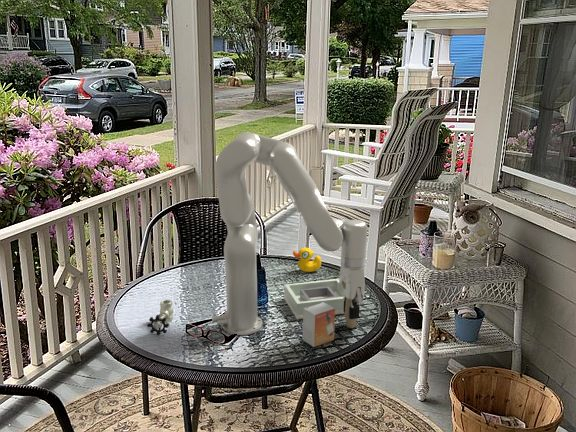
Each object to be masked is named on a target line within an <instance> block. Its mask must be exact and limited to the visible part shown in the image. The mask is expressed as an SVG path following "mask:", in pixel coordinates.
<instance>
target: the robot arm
mask: <svg viewBox="0 0 576 432" xmlns="http://www.w3.org/2000/svg"><path fill="white" fill-rule="evenodd" d="M253 163H257V164H260V165H264V166H267V167H270V170H271V171H272V173H273V174H274V175H275V177H276V179H277V180H278V182H279V183H280V185H281V186H282V188H283V189H284V191H285V193H286V194H287V195H288V197H289V199H290V201H291V202H292V204H293V205H294V207H295V209H296V211H297V213H298V214H299V215H300V218H301V219H302V220H303V222H304V224H305V226H306V227H307V229H308V231H309V232H310V234H311V235H312V236H313V238H314V240H315V242H316V243H317V245H318V246H319V247H320V248H321V249H323V250H324V251H326V252H332V253H333V252H336V251H338V250H339V249H341V252H340V267H339V268H340V269H339V278H338V279H339V289H340V291H341V292H342V293H343V294H344V300H345V301H344V310H343V311H344V314H345V305H346V297H347V298H348V299H349V300H350V304H351V307H349V319H357V320H358V319H360V309H361V305H363V304H364V303H363V299H364V297H365V289H366V285H365V283H366V282H365V267H366V266H367V265H366V261H367V247H368V246H367V245H368V244H367V243H368V242H367V241H368V224H367V223H366V222H365V221H363V220H360V219H347V220H346V219H345V220H344V219H339V218H333V217H332V216H331V214H330V212H329V211H328V208H327V207H326V205H325V202H324V201H323V198H322V195H321V192H320V190H319V187H318V186H317V184H316V183H315V181H314V180H313V178H312V176H311V175H310V174H309V171H307V169H306V167H305V166H304V164H303V162H302V160H301V159H300V157H299V156H298V152H297V150H296V148H295V147H294V146H293V145H292V143H289V142H286V141H283V140H280V139H279V140H278V139H276V138H272V137H268V136H265V135H261V134H258V133H254V132H251V131H250V132H247V131H246V132H245V131H244V132H241V133H239V134H238V135H236V136H235V137H234V139H232V141H231V142H230V143H228V144H227V145H226V146H224V148H222V150H220V152H219V154H218V156H217V158H216V161H215V165H214V166H215V167H214V168H215V169H214V171H215V172H214V173H215V179H216V180H215V181H216V182H215V183H216V189H217V197H218V202H219V213H220V217H221V219H222V221H223V222H224V223H225V224H226V225H225V226H226V229H227V235H226V238H225V241H224V245H223V257H224V269H225V271H224V272H225V289H226V290H225V291H226V292H225V293H226V294H225V295H226V296H225V297H226V310H225V311H224V314H221V315H214V316H213V315H212V316H211V321H212V323H216V325H218V326H219V325H222V329H223V330H224V332H226V333H228V334H231V335H234V334H237V335H236V336H247V335H252V334H255V333H257V332H258V331H260V330H261V329H262V328H263V320H262V318H260V317H259V316H258V273H257V271H258V270H257V268H258V267H257V247H258V240H259V239H258V238H259V233H258V226H257V218H256V213H255V205H254V201H253V198H252V196H251V194H249V192H248V191H247V190H248V189H247V181H246V177H245V171H246V169H247V168H248V166H250V165H252V164H253ZM342 282H343V283H344V284H345V285H346V287H345V288H346V289H345V288H343V287H342ZM355 296H356V297H355ZM353 300H357V301H356V302H354V303H353Z"/></svg>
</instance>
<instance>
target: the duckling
mask: <svg viewBox="0 0 576 432" xmlns="http://www.w3.org/2000/svg"><path fill="white" fill-rule="evenodd" d="M292 254H293V256H294V258H296V259H299V260H298V262H297V266H298V268H299V269H300V271H302V272H303V273H312V272H317V270H319V269H320V268H321V266H322V258H321V256H320V255H316V256H314V254H315V253H314V251H313V250H312V249H310V248H309V247H302V248H300V249H299V250H298V252H296V250H293V251H292ZM313 256H314V259H313V260H311V259H312V257H313Z"/></svg>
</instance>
